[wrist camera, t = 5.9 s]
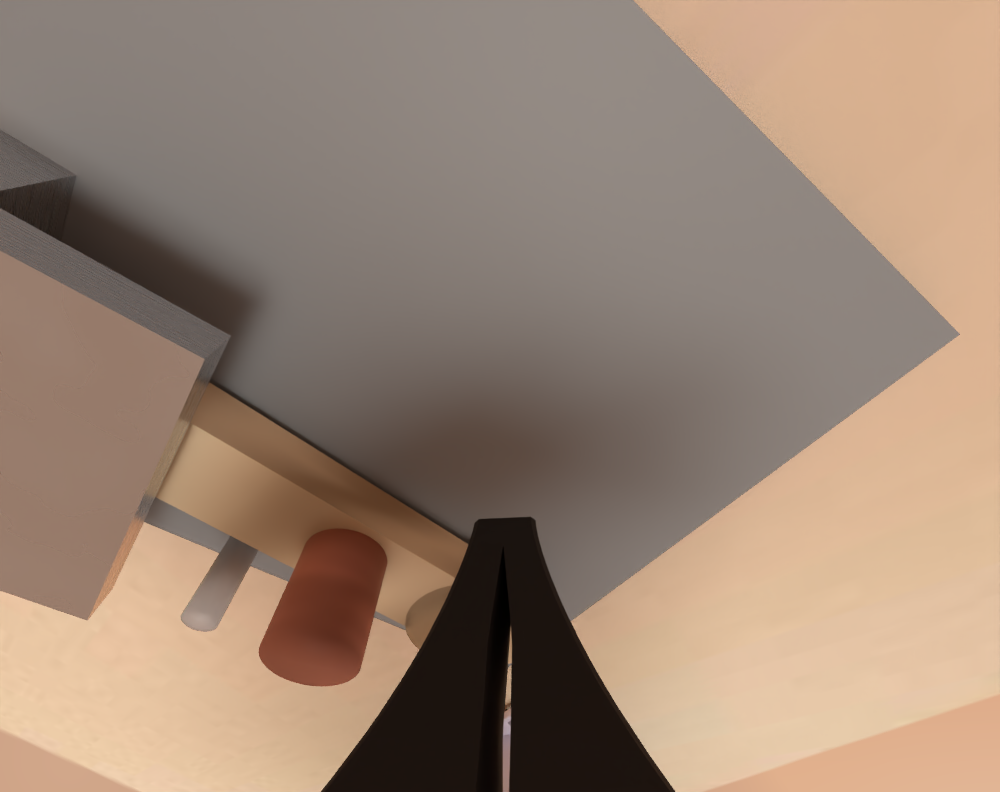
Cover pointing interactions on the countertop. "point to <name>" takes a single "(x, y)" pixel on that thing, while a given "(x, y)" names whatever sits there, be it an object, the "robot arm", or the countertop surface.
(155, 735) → the countertop surface
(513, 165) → the board
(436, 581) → the latch
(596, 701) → the robot arm
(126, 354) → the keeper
